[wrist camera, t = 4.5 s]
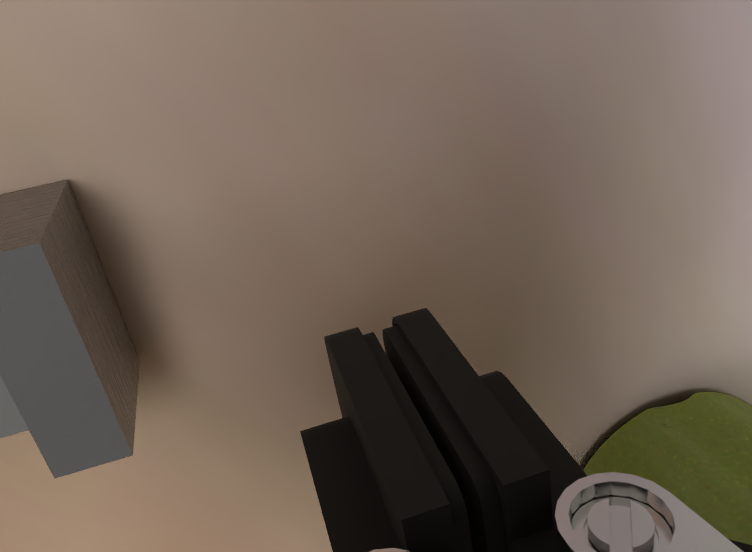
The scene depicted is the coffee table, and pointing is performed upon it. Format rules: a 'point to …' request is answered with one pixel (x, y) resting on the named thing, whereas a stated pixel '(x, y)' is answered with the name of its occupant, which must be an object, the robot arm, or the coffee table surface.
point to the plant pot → (691, 457)
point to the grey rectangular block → (61, 336)
